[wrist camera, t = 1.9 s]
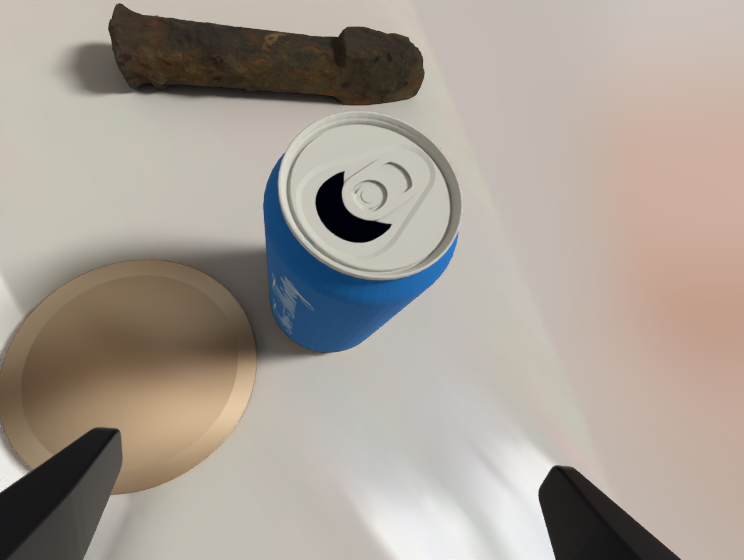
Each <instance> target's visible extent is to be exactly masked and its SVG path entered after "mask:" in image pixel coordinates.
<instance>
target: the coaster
mask: <svg viewBox="0 0 744 560" xmlns="http://www.w3.org/2000/svg"><path fill="white" fill-rule="evenodd" d="M256 368H257V352H256V345H255V339H254V336H253V332H252V329H251V326H250V323H249V321H248V319H247V316H246V314H245V312H244V311H243V309H242V307H241V306H240V304H239V303H238V301H237V300H236V299H235V298H234V297H233V295H232V294H231V293H230V292H229V291H228V290H227V289H226V288H225V287H223V286H222V285H221V284H220V283H219V282H217V281H216V280H214V279H213V278H211V277H210V276H208V275H207V274H205V273H203V272H201V271H199V270H197V269H194V268H191V267H188V266H186V265H183V264H178V263H174V262H169V261H161V260H133V261H125V262H119V263H115V264H111V265H106V266H104V267H101V268H98V269H95V270H92V271H90V272H87V273H85V274H83V275H81V276H79V277H77V278H75V279H73V280H71V281H70V282H68V283H66V284H65V285H63V286H61V287H60V288H59V289H57V290H56V291H55V292H54V293H52V294H51V295H50V296H48V297H47V298H46V299H45V300H44V301H43V302H42V303H41V304H40V305H39V306H37V307H36V308H35V309H34V311H33V312H32V313H31V314H30V315H29V317H28V318H27V319H26V320H25V321H24V323H23V324H22V326H21V327H20V329H19V330H18V332H17V333H16V335H15V336H14V338H13V340H12V342H11V344H10V346H9V348H8V351H7V353H6V356H5V359H4V362H3V365H2V368H1V373H0V418H1V421H2V425H3V428H4V431H5V434H6V436H7V437H8V439H9V441H10V443H11V445H12V447H13V448H14V450H15V451H16V452H17V454H18V455H19V456H20V458H21V459H22V460H23V461H24V462H25V463H26V464H27V465H28V466H29V467H30V468H31V469H32V470H33V469H35V468H36V467H38V466H39V465H41V464H42V463H43V462H45V461H46V460H48V459H49V458H51V457H52V456H53V455H55V454H56V453H58V452H59V451H61V450H62V449H63V448H65V447H66V446H68V445H69V444H71V443H72V442H73V441H75V440H76V439H78V438H79V437H81V436H82V435H83V434H85V433H86V432H88V431H89V430H91V429H93V428H96V427H106V428H116V429H119V430H120V432H121V439H122V455H123V461H122V467H121V470H120V473H119V475H118V478H117V480H116V482H115V485H114V487H113V490H112V492H111V494H110V495H116V494H125V493H132V492H138V491H141V490H145V489H149V488H152V487H156V486H158V485H161V484H163V483H165V482H168V481H170V480H173V479H174V478H176V477H178V476H180V475H182V474H184V473H185V472H187V471H189V470H190V469H192V468H193V467H195V466H196V465H198V464H199V463H200V462H202V461H203V460H205V459H206V458H207V457H208V456H209V455H210V454H211V453H213V452H214V451H215V450H216V449H217V448H218V447H219V446H220V445H221V444H222V443H223V441H224V440H225V439H226V438H227V437H228V436H229V435H230V433H231V432H232V430H233V429H234V428H235V426H236V425H237V423H238V422H239V420H240V418H241V416H242V414H243V413H244V411H245V409H246V407H247V404H248V401H249V399H250V396H251V394H252V390H253V386H254V382H255V376H256Z"/></svg>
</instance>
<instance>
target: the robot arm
mask: <svg viewBox="0 0 744 560" xmlns="http://www.w3.org/2000/svg"><path fill="white" fill-rule="evenodd" d="M122 461H123V455H122V439H121V432H120V430H119V429H116V428H106V427H96V428H93V429H91V430H89V431H88V432H86V433H85V434H83V435H82V436H81V437H79V438H78V439H76V440H75V441H73V442H72V443H71V444H69V445H68V446H66V447H65V448H63V449H62V450H61V451H59V452H58V453H56V454H55V455H53V456H52V457H51V458H49V459H48V460H46V461H45V462H43V463H42V464H41V465H39V466H38V467H36V468H35V469H33V470H32V471H31V472H29V473H28V474H26V475H25V476H23V477H22V478H21V479H19V480H18V481H16V482H15V483H13V484H12V485H10V486H9V487H8V488H6V489H5V490H3V491H2V492H0V560H83V558H84V556H85V554H86V552H87V549H88V547H89V545H90V542H91V540H92V537H93V535H94V533H95V530H96V528H97V525H98V523H99V521H100V518H101V516H102V513H103V511H104V509H105V506H106V504H107V502H108V499H109V497H110V494H111V492H112V490H113V487H114V485H115V482H116V480H117V478H118V475H119V473H120V470H121V467H122ZM538 496H539V502H540V505H541V509H542V513H543V516H544V520H545V523H546V527H547V530H548V534H549V538H550V541H551V545H552V548H553V552H554V556H555V559H556V560H681V559H680V558H679V557H678V556H676V555H675V554H674V553H673V552H671V550H669V549H668V548H667V547H666V546H665V545H664V544H662V543H661V542H660V541H659V540H658V539H656V538H655V537H654V536H653V535H652V534H651V533H649V532H648V531H647V530H646V529H645V528H644V527H642V526H641V525H640V524H639V523H638V522H637V521H635V520H634V519H633V518H632V517H631V516H630V515H628V514H627V513H626V512H625V511H624V510H623V509H621V508H620V507H619V506H618V505H617V504H616V503H614V502H613V501H612V500H611V499H610V498H609V497H607V496H606V495H605V494H604V493H603V492H602V491H600V490H599V489H598V488H597V487H596V486H595V485H593V484H592V483H591V482H590V481H589V480H588V479H586V478H585V477H584V476H583V475H582V474H581V473H579V472H578V471H577V470H576V469H574V468H573V467H570V466H560V465H556V466H554V467H552V468H551V470H550V471H549V473H548V475H547V476H546V478H545V480H544V481H543V483H542V484H541V486H540V488H539V494H538Z"/></svg>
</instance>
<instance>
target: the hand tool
mask: <svg viewBox="0 0 744 560" xmlns="http://www.w3.org/2000/svg"><path fill="white" fill-rule="evenodd" d="M108 30H109V33H110V36H111V41H112V50H113V52H114V54H115V59H116V63H117V65H118V67H119V70H120V71H121V73H122V74H123V76H124V78H125V79H126V81H127V83H128V84H129V86H130V87H131V88H133V89H136V88H137V87H139V86H140V85H143V84H145V83H151V84H152V85H153V86H155V87H157V88H159V89H161V90H164V89H165V88H166V87H167V86H168V85H171V84H181V85H192V86H212V87H226V88H239V89H245V90H247V91H249V92H253V91H256V90H264V91H272V92H290V93H301V94H315V95H328V96H333V97H336V98H337V100H338V101H339V102H340V103H342V104H343V105H371V104H379V103H387V102H392V101H398V100H402V99H406V98H411V97H414V96H415V95H416V94H417V92H418V91H419V89H420V87H421V84H422V82H423V79H424V69H423V57H422V55H421V52H420V51H419V49H418V48H417V47H415V46H414V44H413V43H411V42H410V41H409V37H405V36H402V35H399V34H396V33H390V34H386V33H384V32H381V31H376V30H373V29H370V28H366V27H347V28H345V29H344V30H343V31H342V32H341V34H340V35H339V37H321V36H308V35H304V34H294V33H286V32H278V31H270V30H260V29H252V28H242V27H233V26H227V25H219V24H214V23H207V22H206V23H203V22H195V21H186V20H179V19H175V18H164V17H159V16H157V15H156V16H148V15H141V14H139V13H136V12H133V11H131V10H130V9H128V8H126V7H125V6H123V4H120V3H119V4H116V6H115V8H114V11H113V16H112V19H110V22H109V28H108Z"/></svg>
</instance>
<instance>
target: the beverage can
mask: <svg viewBox="0 0 744 560" xmlns="http://www.w3.org/2000/svg"><path fill="white" fill-rule="evenodd" d="M263 209H264V223H265V237H266V252H267V266H268V280H269V294H270V304H271V309H272V312H273V315H274V318H275V320H276V321H277V323H278V325H279V326H280V328H281V329H282V331H283V332H284V333H285V334H286V335H287V336H288V337H289V338H291V339H292V340H293V341H294V342H296V343H298V344H299V345H301V346H303V347H306V348H308V349H311V350H314V351H320V352H339V351H343V350H347V349H350V348H352V347H355V346H356V345H358V344H360V343H361V342H363V341H364V340H365V339H367V338H368V337H369V336H370V335H372V334H373V333H374V332H375V331H376V330H378V329H379V328H380V327H381V326H382V325H384V324H385V323H386V322H387V321H389V320H390V319H391V318H392V317H393V316H395V315H396V314H397V313H398V312H399V311H401V310H402V309H403V308H404V307H405V306H407V305H408V304H409V303H410V302H412V301H413V300H414V299H415V298H416V297H418V296H419V295H420V294H421V293H422V292H424V291H425V290H426V289H427V288H429V287H430V286H431V285H432V284H433V283H434V282H435V281H436V280H437V279H438V278H439V277H440V276H441V274H442V273H443V272H444V270H445V269H446V268H447V266H448V264H449V262H450V260H451V258H452V256H453V253H454V250H455V247H456V244H457V238H458V231H459V228H460V225H461V220H462V215H463V197H462V190H461V186H460V182H459V180H458V177H457V174H456V172H455V170H454V168H453V166H452V164H451V162H450V161H449V159H448V158H447V156H446V155H445V154H444V152H443V151H442V150H441V149H440V148H439V146H438V145H437V144H436V143H435V142H434V141H433V140H431V139H430V138H429V137H428V136H427V135H425V134H424V133H423V132H422V131H420V130H419V129H417V128H415V127H414V126H412V125H410V124H408V123H406V122H404V121H402V120H400V119H397V118H395V117H392V116H389V115H385V114H381V113H375V112H369V111H349V112H342V113H337V114H333V115H330V116H327V117H324V118H322V119H320V120H317V121H315V122H314V123H312V124H311V125H309V126H308V127H306V128H305V129H304V130H303V131H301V132H300V133H299V134H298V135H297V136H296V137H295V139H294V140H293V141H292V142H291V144H290V145H289V147H288V148H287V150H286V152H285V153H284V154H283V155H282V157H281V158H280V159H279V160H278V162H277V163H276V165H275V167H274V168H273V170H272V172H271V174H270V177H269V179H268V182H267V185H266V189H265V193H264V204H263Z"/></svg>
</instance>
